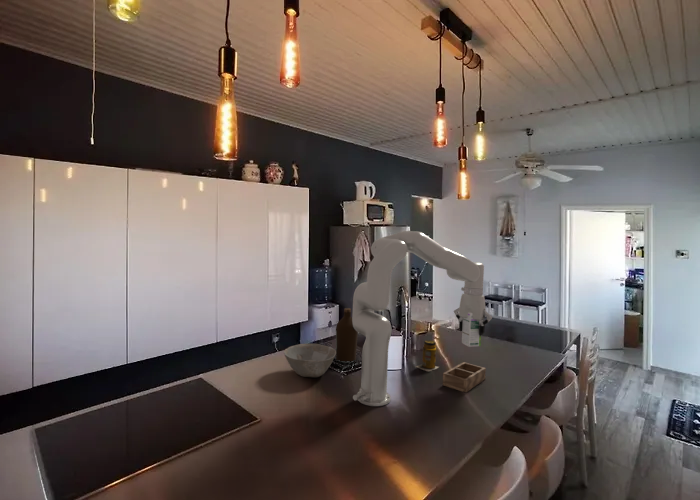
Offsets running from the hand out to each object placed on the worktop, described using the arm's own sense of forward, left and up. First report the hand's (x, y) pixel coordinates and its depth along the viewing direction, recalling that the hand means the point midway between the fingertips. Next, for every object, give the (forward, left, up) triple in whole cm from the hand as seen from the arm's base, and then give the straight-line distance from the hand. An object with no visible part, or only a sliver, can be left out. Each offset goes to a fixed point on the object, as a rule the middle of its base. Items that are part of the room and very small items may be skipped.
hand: (471, 332), depth 161 cm
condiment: (-1, +20, -21) cm, 29 cm away
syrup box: (0, 0, -6) cm, 6 cm away
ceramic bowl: (-46, +51, -21) cm, 72 cm away
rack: (-5, 0, -20) cm, 21 cm away
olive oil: (-22, +52, -21) cm, 60 cm away
